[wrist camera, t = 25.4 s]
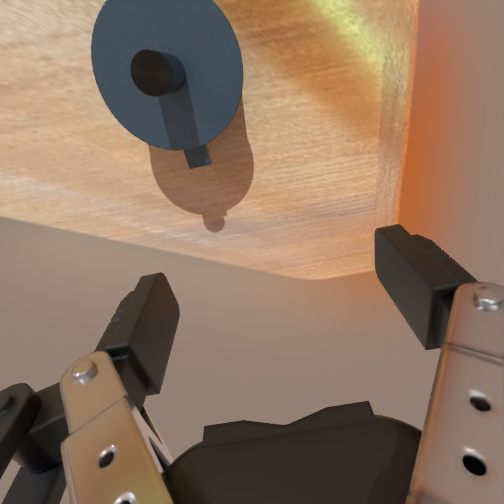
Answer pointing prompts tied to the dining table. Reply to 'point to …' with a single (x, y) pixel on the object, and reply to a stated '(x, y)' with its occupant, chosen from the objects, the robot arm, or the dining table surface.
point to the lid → (168, 69)
